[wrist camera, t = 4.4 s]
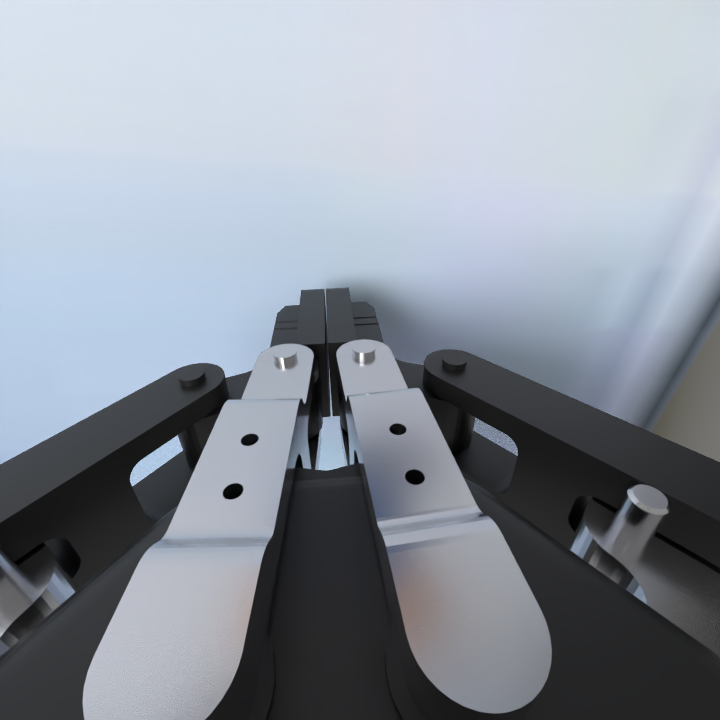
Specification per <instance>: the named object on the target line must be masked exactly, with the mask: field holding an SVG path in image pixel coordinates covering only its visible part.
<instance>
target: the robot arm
mask: <svg viewBox="0 0 720 720" xmlns="http://www.w3.org/2000/svg"><path fill="white" fill-rule="evenodd" d="M326 303H327V321H326V307H325V293H324V289H314V290H301V298H300V305H294V306H285V307H284V308H283V309H282V310H281V311H280V312H278V313H277V318H276V323H275V327H274V332H273V336H272V341H271V346H270V348H268V349H266V350H265V351H263V352H262V353H261V354H260V355H259V356H258V358H257V361H256V363H255V366H254V368H253V370H252V371H249V372H247V373H243V374H240V375H236V376H231V377H227V378H225V374H224V371H223V369H222V368H221V367H219V366H217V365H214V364H209V363H198V364H192V365H188V366H184V367H181V368H179V369H177V370H175V371H173V372H171V373H169V374H167V375H165V376H164V377H162V378H160V379H158V380H156V381H154V382H152V383H151V384H149V385H147V386H145V387H143V388H141V389H139V390H138V391H136V392H134V393H132V394H130V395H128V396H127V397H125V398H123V399H121V400H119V401H117V402H115V403H114V404H112V405H110V406H108V407H106V408H104V409H102V410H101V411H99V412H97V413H95V414H93V415H91V416H90V417H88V418H86V419H84V420H82V421H80V422H78V423H77V424H75V425H73V426H71V427H69V428H67V429H65V430H64V431H62V432H60V433H58V434H56V435H54V436H53V437H51V438H49V439H47V440H45V441H43V442H41V443H40V444H38V445H36V446H34V447H32V448H30V449H28V450H27V451H25V452H23V453H21V454H19V455H17V456H16V457H14V458H12V459H10V460H8V461H6V462H4V463H3V464H1V465H0V720H720V462H718V461H715V460H713V459H711V458H708V457H706V456H704V455H702V454H699V453H697V452H695V451H692V450H690V449H688V448H685V447H683V446H681V445H679V444H676V443H674V442H672V441H669V440H667V439H665V438H662V437H660V436H658V435H655V434H653V433H651V432H649V431H647V430H644V429H642V428H640V427H637V426H635V425H633V424H630V423H628V422H626V421H624V420H621V419H619V418H617V417H614V416H612V415H610V414H608V413H605V412H603V411H601V410H598V409H596V408H594V407H591V406H589V405H587V404H585V403H582V402H580V401H578V400H575V399H573V398H571V397H569V396H566V395H564V394H562V393H559V392H557V391H555V390H552V389H550V388H548V387H546V386H543V385H541V384H539V383H536V382H534V381H532V380H530V379H527V378H525V377H523V376H520V375H518V374H516V373H514V372H511V371H509V370H507V369H504V368H502V367H500V366H497V365H495V364H493V363H491V362H488V361H486V360H484V359H481V358H479V357H477V356H475V355H472V354H470V353H467V352H464V351H459V350H439V351H436V352H433V353H431V354H429V355H428V356H427V357H426V359H425V362H424V365H418V364H411V363H406V362H402V361H399V360H397V359H395V358H394V356H393V354H392V351H391V349H390V348H389V347H388V346H387V345H385V344H384V343H383V339H382V336H381V332H380V328H379V325H378V321H377V318H376V313H375V310H374V308H373V307H372V306H370V305H369V304H368V303H367V302H352V303H351V300H350V294H349V288H334V289H326ZM328 354H329V356H328ZM329 369H330V383H331V397H332V411H333V416H340V426H341V440H342V446H343V452H344V458H345V464H346V466H344V467H341V468H337V469H334V470H329V471H322V470H318V468H319V458H320V449H321V428H322V424H323V417H329V416H330V388H329ZM475 417H476V418H478V419H479V420H481V421H483V422H485V423H487V424H488V425H490V426H492V427H494V428H496V429H498V430H499V431H501V432H503V433H505V434H506V435H508V436H509V437H510V438H511V439H512V440H513V441H514V442H515V444H516V446H517V448H518V456H516V455H514V454H513V453H511V452H509V451H508V450H506V449H504V448H502V447H501V446H499V445H497V444H495V443H494V442H492V441H490V440H488V439H487V438H485V437H483V436H481V435H480V434H478V433H476V432H475V431H473V427H474V422H475ZM177 435H178V437H179V440H180V443H181V446H182V448H183V451H182V452H180V453H179V454H178V455H176V456H175V457H173V458H172V459H171V460H169V461H168V462H166V463H165V464H164V465H162V466H161V467H160V468H158V469H157V470H155V471H154V472H153V473H151V474H150V475H148V476H147V477H146V478H144V479H143V480H141V481H140V482H139V483H137V484H136V485H134V486H133V487H132V486H131V483H130V474H131V472H132V469H133V468H134V466H135V465H136V464H137V463H138V462H139V461H140V460H141V459H143V458H144V457H146V456H147V455H149V454H150V453H152V452H153V451H155V450H156V449H158V448H159V447H160V446H162V445H163V444H165V443H166V442H168V441H169V440H171V439H172V438H174V437H175V436H177Z"/></svg>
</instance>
